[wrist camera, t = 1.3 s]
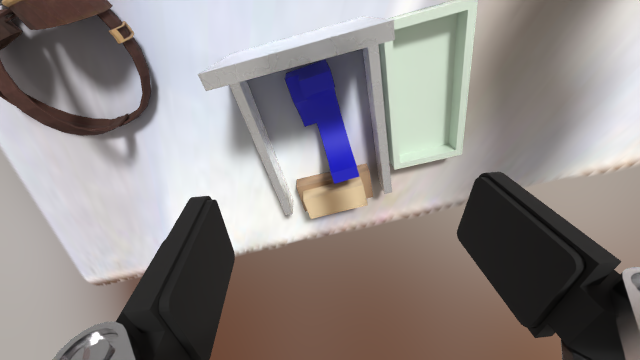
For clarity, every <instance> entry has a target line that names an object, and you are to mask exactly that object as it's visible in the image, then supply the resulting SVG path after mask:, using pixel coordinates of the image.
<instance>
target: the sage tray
mask: <svg viewBox="0 0 640 360" xmlns="http://www.w3.org/2000/svg"><path fill="white" fill-rule="evenodd" d="M477 4H478V0H453V1H449V2H446V3H442V4H439V5H435V6H432V7H428V8H424V9H421V10H417V11H414V12H410V13H407V14H403V15H399V16H396V17H392V18H389V19H391V20H394V34H395V40H392V41H389V42H385V43H381V44H378V45H379V56H380V67H381V78H382V89H383V100H384V111H385V122H386V133H387V144H388V155H389V161H390V163H391V165H392V166H393V168H394V170H396V169H400V168H405V167H409V166H413V165H418V164H422V163H427V162H431V161H435V160H440V159H444V158H449V157H453V156H458V155H462V150H463V140H464V130H465V121H466V111H467V101H468V91H469V82H470V72H471V62H472V52H473V43H474V33H475V23H476V13H477Z"/></svg>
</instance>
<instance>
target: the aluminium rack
mask: <svg viewBox="0 0 640 360" xmlns="http://www.w3.org/2000/svg"><path fill="white" fill-rule="evenodd" d="M392 40H395V34H394V20H391V19H383V18H375V17H367V16H362V17H358V18H355V19H351V20H348V21H344V22H341V23H337V24H334V25H330V26H326V27H323V28H319V29H316V30H312V31H309V32H305V33H302V34H298V35H295V36H291V37H288V38H284V39H280V40H277V41H273V42H270V43H266V44H263V45H259V46H256V47H252V48H249V49H245V50H242V51H238V52H235V53H231V54H229V55H228V56H226V57H225V58H223V59H221V60H220V61H218V62H217V63H215V64H213V65H212V66H210V67H209V68H207V69H206V70H204V71H202V72H201V73H199V74H198V76H199V78H200V80H201V82H202V84H203V86H204V88H205V90H206V91H208V90H212V89H216V88H219V87H223V86H227V85H230V87H231V90H232V92H233V94H234V97H235V99H236V101H237V104H238V106H239V108H240V111H241V113H242V115H243V118H244V120H245V122H246V125H247V127H248V129H249V131H250V134H251V136H252V138H253V141H254V143H255V145H256V148H257V150H258V152H259V155H260V157H261V159H262V162H263V164H264V166H265V169H266V171H267V173H268V176H269V178H270V180H271V182H272V185H273V187H274V189H275V192H276V194H277V196H278V199H279V201H280V203H281V206H282V208H283V210H284V213H285V215H290V214H293V199H292V196H291V193H290V191H289V188H288V186H287V183H286V181H285V178H284V175H283V173H282V170H281V168H280V165H279V163H278V160H277V157H276V155H275V152H274V150H273V147H272V145H271V142H270V140H269V137H268V134H267V132H266V129H265V127H264V124H263V122H262V119H261V116H260V114H259V111H258V109H257V106H256V104H255V101H254V98H253V96H252V93H251V91H250V88H249V86H248V83H247V80H249V79H252V78H256V77H260V76H264V75H267V74H271V73H275V72H278V71H282V70H286V69H289V68H293V67H297V66H300V65H304V64H308V63H311V62H315V61H319V60H322V59H326V58H330V57H333V56H337V55H341V54H345V53H348V52H352V51H356V50H359V49H363V57H364V65H365V73H366V81H367V89H368V97H369V105H370V113H371V121H372V129H373V137H374V145H375V153H376V161H377V169H378V177H379V182H380V185H381V187H382V189H383V191H384V194H386V193H391V192H392V187H391V176H390V166H389V155H388V144H387V133H386V122H385V111H384V100H383V89H382V78H381V67H380V56H379V45H378V44H381V43H385V42H389V41H392Z"/></svg>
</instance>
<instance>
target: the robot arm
mask: <svg viewBox="0 0 640 360" xmlns="http://www.w3.org/2000/svg"><path fill="white" fill-rule="evenodd" d="M457 236H458V239H459V241H460V242H461V244H462V245H463V246H464V248H465V249H466V250H467V252H468V253H469V254H470V256H471V257H472V258H473V260H474V261H475V262H476V264H477V265H478V267H479V268H480V269H481V271H482V272H483V273H484V275H485V276H486V277H487V279H488V280H489V281H490V283H491V284H492V286H493V287H494V288H495V290H496V291H497V292H498V294H499V295H500V296H501V298H502V299H503V300H504V302H505V303H506V305H507V306H508V307H509V309H510V310H511V311H512V313H513V314H514V315H515V317H516V318H517V320H518V321H519V322H520V323H521V324H522V325H523V326H525V327H527V328H528V329H529V331H530V332H531V333H532V335H533V336H534V337H535V338H538V337H548V336H552V335H553V334H554V333H555V332H556V333H557V335H558V336H559V337H560V338H561V347H562V360H640V268H638V267H633V268H627V269H625V270H624V271H623V272H622V273H621V274H619V273H617V272H616V271H615V270H614V269H615V268H616V267H617V266H618V265H619V264H620V263H621V261H620V260H619V259H617V258H616V257H615V256H613V255H612V254H611V253H609V252H608V251H607V250H605V249H604V248H603V247H601V246H600V245H598V244H597V243H596V242H595V241H593V240H592V239H591V238H589V237H588V236H587V235H585V234H584V233H582V232H581V231H580V230H578V229H577V228H576V227H575V226H573V225H572V224H570V223H569V222H568V221H566V220H565V219H564V218H562V217H561V216H560V215H558V214H557V213H556V212H554V211H553V210H552V209H550V208H549V207H548V206H546V205H545V204H544V203H542V202H541V201H539V200H538V199H537V198H536V197H534V196H533V195H532V194H530V193H529V192H528V191H526V190H525V189H524V188H522V187H521V186H520V185H518V184H517V183H516V182H514V181H513V180H512V179H510V178H509V177H508V176H506V175H505V174H503V173H501V172H491V173H483V174H481V175H480V176H479V178H477V179H476V180H475V182H474V185H473V188H472V190H471V193H470V196H469V199H468V202H467V205H466V207H465V210H464V213H463V216H462V219H461V222H460V224H459V227H458V230H457ZM234 258H235V255H234V250H233V247H232V244H231V241H230V238H229V235H228V233H227V230H226V227H225V224H224V221H223V218H222V215H221V212H220V209H219V206H218V203H217V201H216V200H212V199H211V198H210V197H209V196H202V197H192V198H190V199H189V201H188V203H187V204H186V206H185V208H184V209H183V211H182V213H181V214H180V216H179V218H178V220H177V221H176V223H175V225H174V226H173V228H172V230H171V232H170V233H169V235H168V237H167V238H166V239H165V240H164V242H163V243H162V244H161V246H160V248H159V250H158V251H157V253H156V255H155V256H154V258H153V260H152V261H151V263H150V265H149V266H148V268H147V270H146V271H145V273H144V275H143V277H142V278H141V280H140V282H139V284H138V285H137V287H136V289H135V290H134V292H133V294H132V295H131V297H130V299H129V300H128V302H127V304H126V305H125V307H124V309H123V310H122V312H121V314H120V316H119V317H118V319H117V321H116V322H104V323H100V324H97V325H94V326H92V327H90V328H88V329H86V330H84V331H83V332H81V333H80V334H78V335H77V336H75V337H74V338H73V339H71V340H70V341H69V342H68V343H67V344H66V345H65V346H64V347H63V348H62V349H61V350H60V351H59V352H58V353H57V354H56V356H55V357H54V359H53V360H209V359H210V356H211V352H212V348H213V344H214V340H215V336H216V332H217V328H218V324H219V320H220V316H221V312H222V308H223V304H224V300H225V296H226V292H227V288H228V284H229V280H230V276H231V272H232V268H233V264H234Z"/></svg>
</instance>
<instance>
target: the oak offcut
mask: <svg viewBox="0 0 640 360" xmlns="http://www.w3.org/2000/svg"><path fill="white" fill-rule="evenodd" d="M303 201H304V204H305V206H306V208H307V211H308V213H309V216H310V218H311V219H313V218H317V217H321V216H325V215H329V214H333V213H337V212H341V211H345V210H349V209H354V208H358V207H362V206H366V205H368V204H367V200H366V195H365V191H364V186H363V183H362V180H361V177H356V178H353V179H349V180H346V181H343V182H339V183H336V184H334V183H333V184H329V185H325V186H321V187H317V188H313V189H310V190H306V191H303Z"/></svg>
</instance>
